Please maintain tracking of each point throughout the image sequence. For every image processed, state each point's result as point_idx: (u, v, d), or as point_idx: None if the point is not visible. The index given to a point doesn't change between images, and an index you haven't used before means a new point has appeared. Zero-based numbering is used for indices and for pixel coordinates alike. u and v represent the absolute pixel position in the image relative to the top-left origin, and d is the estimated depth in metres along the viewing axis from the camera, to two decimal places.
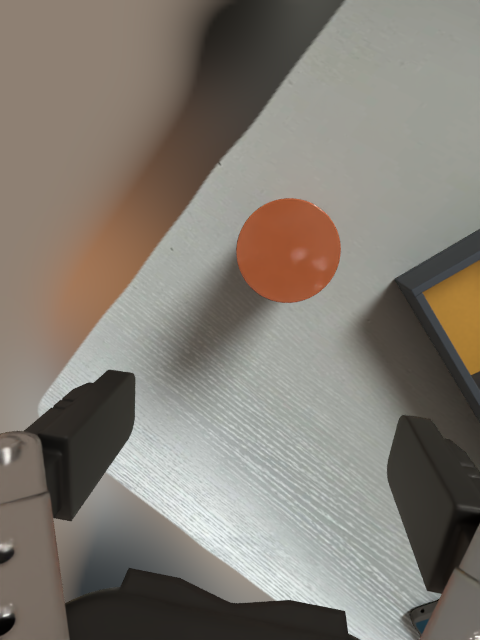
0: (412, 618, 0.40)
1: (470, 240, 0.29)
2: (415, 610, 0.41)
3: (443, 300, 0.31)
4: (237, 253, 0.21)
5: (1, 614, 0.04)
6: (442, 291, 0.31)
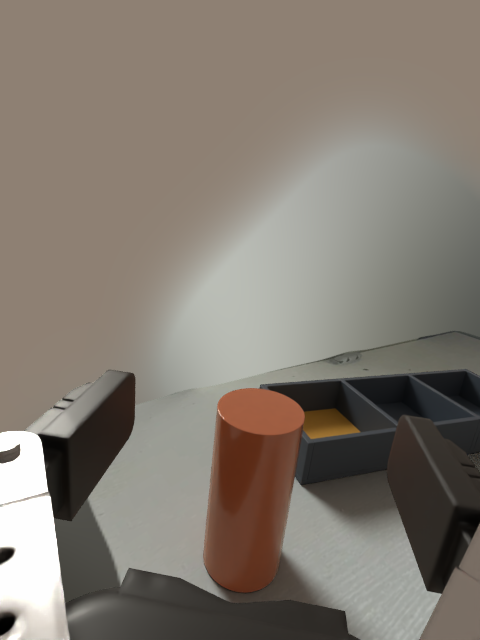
0: None
1: None
2: None
3: None
4: (252, 432, 0.21)
5: (1, 614, 0.04)
6: None
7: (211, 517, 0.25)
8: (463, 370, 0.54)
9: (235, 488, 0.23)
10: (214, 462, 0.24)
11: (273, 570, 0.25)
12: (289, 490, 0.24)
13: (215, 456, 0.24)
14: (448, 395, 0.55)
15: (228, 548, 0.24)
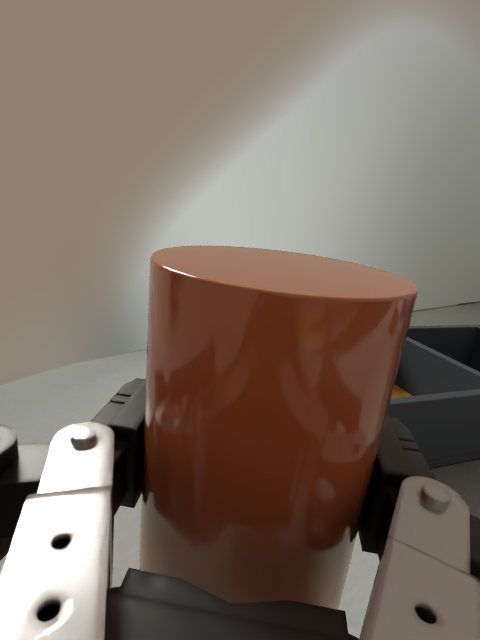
0: None
1: None
2: None
3: None
4: (259, 290, 0.06)
5: (49, 600, 0.04)
6: None
7: None
8: None
9: (203, 497, 0.07)
10: (146, 420, 0.08)
11: None
12: (363, 501, 0.08)
13: (147, 401, 0.08)
14: None
15: None
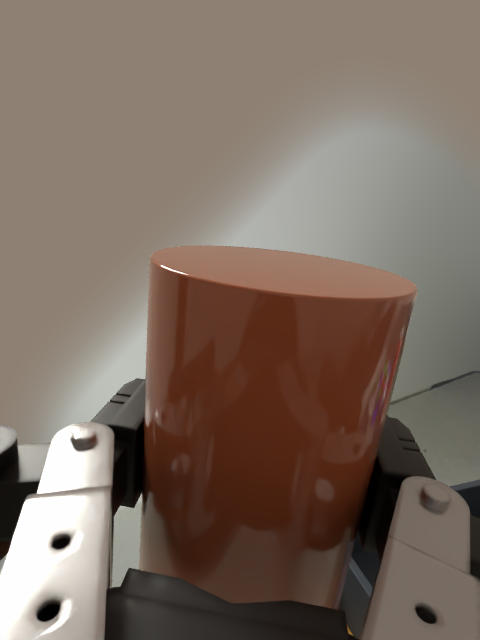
0: None
1: None
2: None
3: None
4: (259, 290, 0.06)
5: (49, 600, 0.04)
6: None
7: None
8: None
9: (202, 498, 0.07)
10: (145, 420, 0.08)
11: None
12: (363, 501, 0.08)
13: (146, 402, 0.08)
14: None
15: None
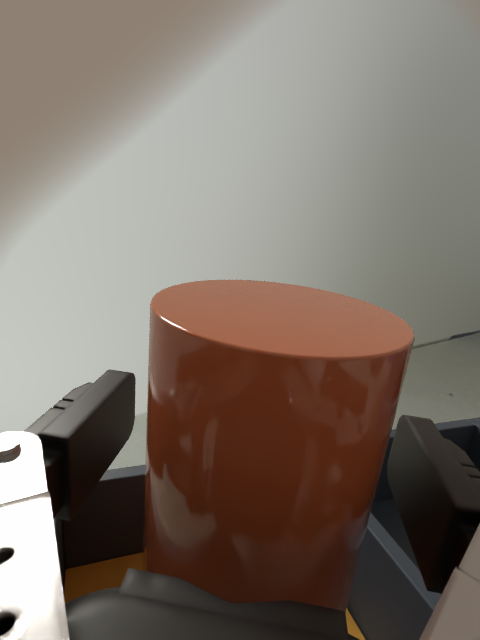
0: None
1: None
2: None
3: None
4: (257, 350, 0.06)
5: (1, 614, 0.04)
6: None
7: None
8: None
9: (202, 544, 0.07)
10: (146, 460, 0.08)
11: None
12: (361, 541, 0.08)
13: (148, 443, 0.08)
14: None
15: None
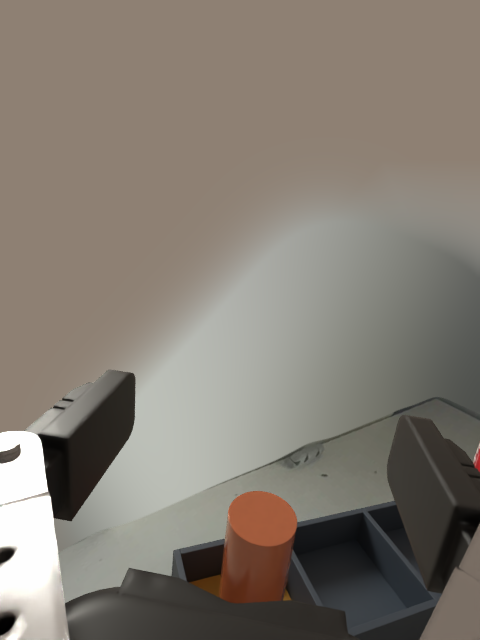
0: None
1: None
2: None
3: None
4: (256, 544, 0.28)
5: (1, 614, 0.04)
6: None
7: (223, 599, 0.31)
8: None
9: (242, 583, 0.29)
10: (225, 558, 0.30)
11: None
12: (285, 580, 0.30)
13: (226, 554, 0.30)
14: None
15: None
